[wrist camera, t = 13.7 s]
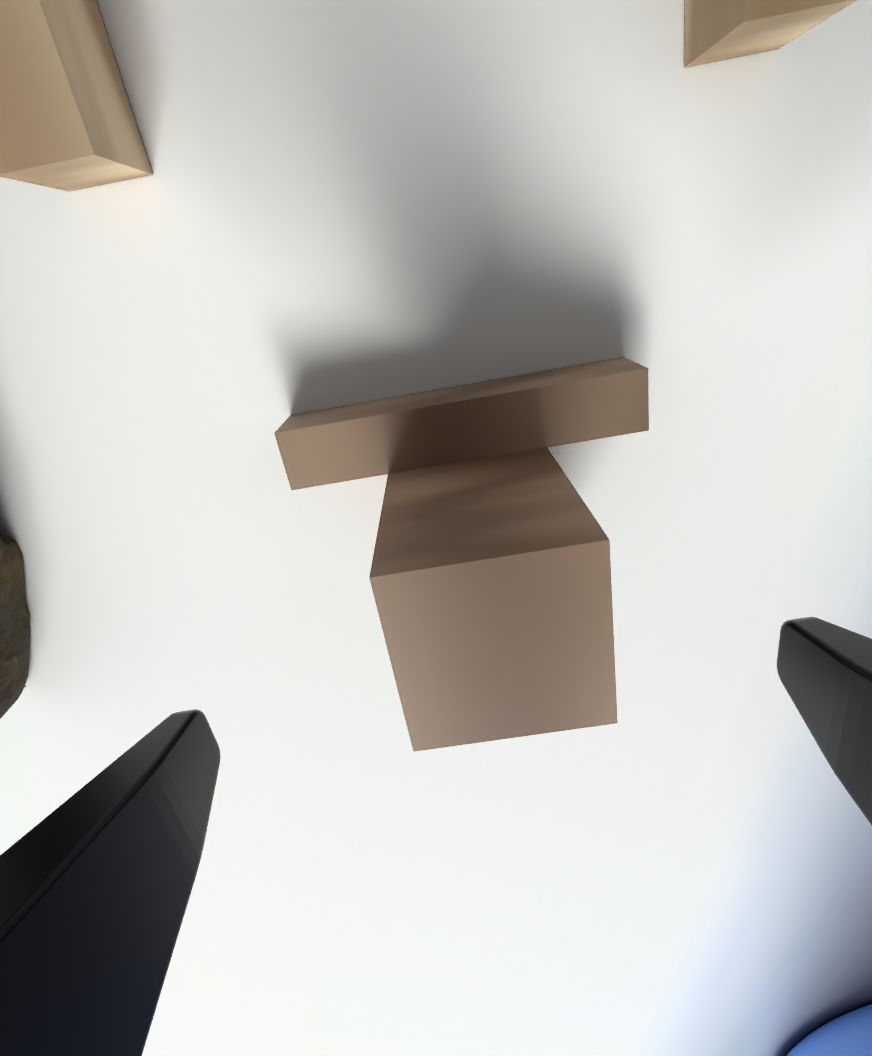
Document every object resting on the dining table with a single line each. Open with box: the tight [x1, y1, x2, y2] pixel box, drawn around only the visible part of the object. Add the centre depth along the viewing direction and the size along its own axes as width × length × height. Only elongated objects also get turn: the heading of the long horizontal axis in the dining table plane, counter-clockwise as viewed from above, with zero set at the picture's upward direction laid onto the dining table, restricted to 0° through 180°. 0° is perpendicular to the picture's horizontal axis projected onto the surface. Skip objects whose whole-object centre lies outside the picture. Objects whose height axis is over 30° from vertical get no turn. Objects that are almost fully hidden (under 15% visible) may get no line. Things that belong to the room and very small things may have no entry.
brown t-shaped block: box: [275, 357, 649, 751], centre depth 13 cm, size 9×6×7 cm, turn 100°
